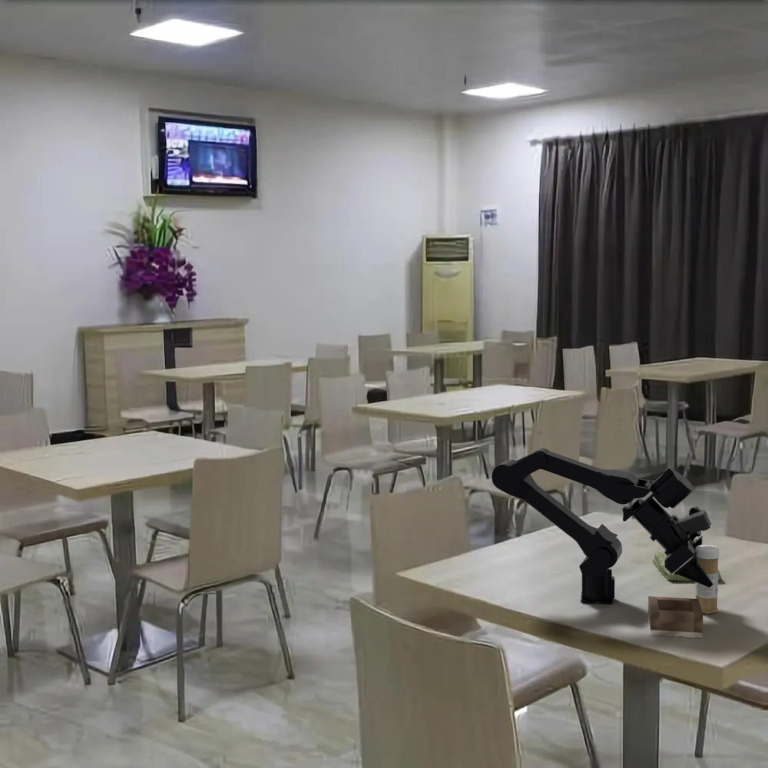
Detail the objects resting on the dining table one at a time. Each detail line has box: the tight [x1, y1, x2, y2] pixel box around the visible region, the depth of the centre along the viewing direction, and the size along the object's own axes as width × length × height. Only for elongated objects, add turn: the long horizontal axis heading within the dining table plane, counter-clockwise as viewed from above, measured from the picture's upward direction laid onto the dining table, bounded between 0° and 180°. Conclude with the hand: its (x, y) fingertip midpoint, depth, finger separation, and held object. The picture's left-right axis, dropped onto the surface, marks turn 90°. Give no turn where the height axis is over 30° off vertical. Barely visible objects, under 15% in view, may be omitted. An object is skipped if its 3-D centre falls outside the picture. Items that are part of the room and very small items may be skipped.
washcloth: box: [652, 551, 722, 582], centre depth 229 cm, size 13×18×3 cm
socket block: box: [647, 595, 704, 639], centre depth 193 cm, size 10×10×4 cm
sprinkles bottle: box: [694, 544, 720, 615], centre depth 201 cm, size 5×5×14 cm
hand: (713, 579), depth 201 cm, fingers open, 9 cm apart
